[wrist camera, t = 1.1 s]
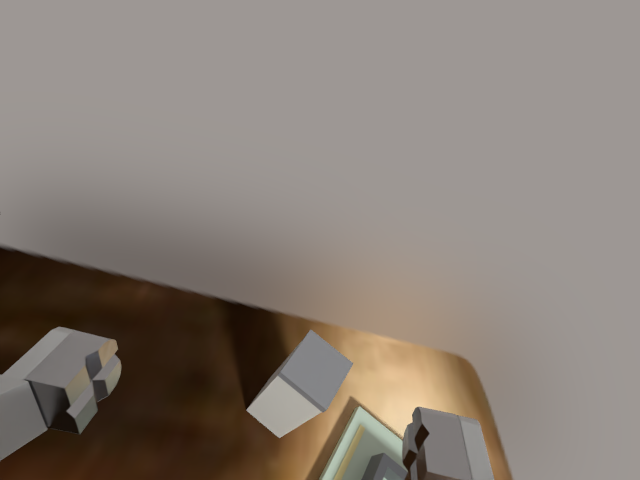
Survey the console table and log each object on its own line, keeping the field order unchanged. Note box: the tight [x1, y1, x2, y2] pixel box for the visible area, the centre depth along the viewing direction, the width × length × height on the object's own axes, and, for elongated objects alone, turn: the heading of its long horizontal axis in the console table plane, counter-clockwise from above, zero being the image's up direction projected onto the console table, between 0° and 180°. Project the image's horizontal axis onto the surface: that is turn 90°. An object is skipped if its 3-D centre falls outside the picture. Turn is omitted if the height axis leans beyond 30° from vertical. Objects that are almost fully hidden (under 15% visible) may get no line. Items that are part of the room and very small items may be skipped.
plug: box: [246, 330, 353, 438], centre depth 31 cm, size 4×5×12 cm
